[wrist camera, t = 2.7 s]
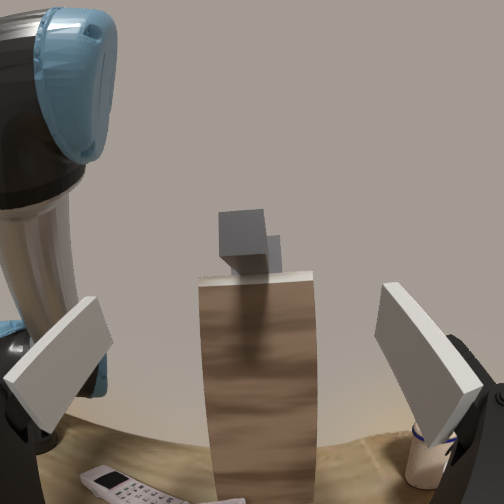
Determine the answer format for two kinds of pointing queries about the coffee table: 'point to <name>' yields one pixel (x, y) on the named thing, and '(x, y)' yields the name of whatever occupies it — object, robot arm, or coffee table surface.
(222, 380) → the brown wooden tall block
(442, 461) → the teacup with lid
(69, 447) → the coffee table surface
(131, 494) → the mobile phone
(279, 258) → the gray block
